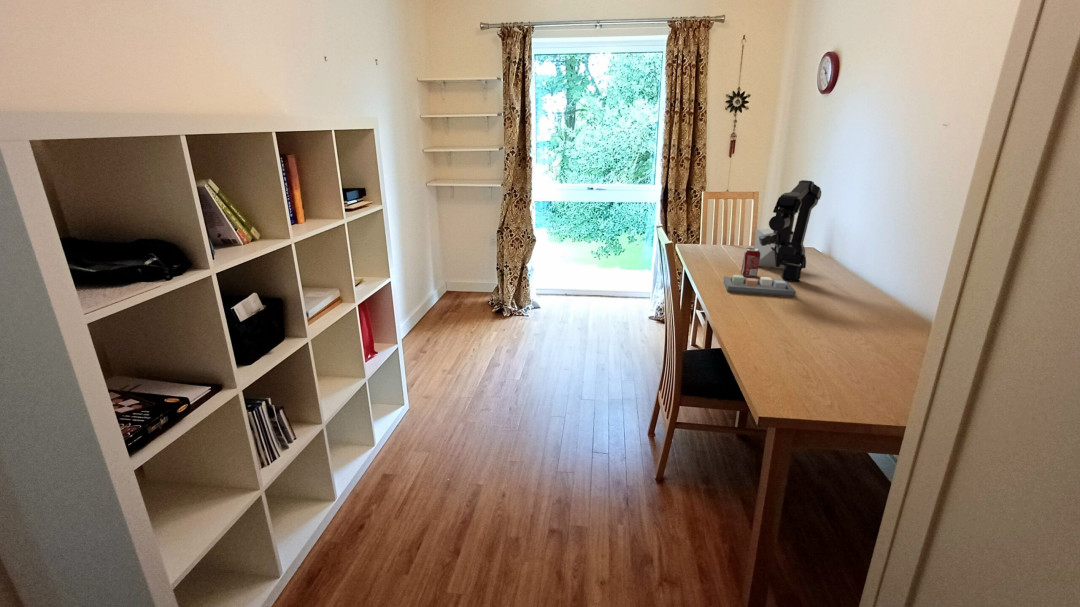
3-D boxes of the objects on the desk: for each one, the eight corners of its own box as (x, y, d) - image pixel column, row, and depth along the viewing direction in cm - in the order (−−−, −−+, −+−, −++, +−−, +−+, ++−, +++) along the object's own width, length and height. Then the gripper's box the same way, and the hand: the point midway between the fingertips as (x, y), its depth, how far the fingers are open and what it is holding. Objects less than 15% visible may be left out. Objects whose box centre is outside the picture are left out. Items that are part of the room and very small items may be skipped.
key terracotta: (755, 284, 209) (756, 278, 208) (756, 287, 205) (757, 281, 204) (745, 284, 210) (746, 277, 209) (746, 286, 206) (747, 280, 205)
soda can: (759, 277, 224) (763, 251, 220) (743, 277, 224) (747, 250, 220) (753, 273, 230) (757, 247, 226) (738, 273, 230) (742, 247, 226)
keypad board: (786, 287, 211) (787, 281, 211) (794, 297, 199) (795, 291, 198) (723, 282, 216) (724, 276, 215) (727, 292, 203) (728, 286, 202)
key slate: (783, 286, 207) (784, 280, 206) (785, 289, 203) (786, 283, 202) (773, 286, 207) (774, 280, 207) (775, 288, 204) (776, 282, 203)
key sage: (741, 281, 209) (742, 275, 209) (743, 284, 206) (744, 277, 205) (731, 280, 210) (732, 274, 209) (733, 283, 207) (734, 277, 206)
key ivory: (769, 283, 207) (770, 277, 207) (771, 286, 204) (772, 280, 203) (759, 282, 208) (760, 276, 207) (761, 285, 205) (762, 279, 204)
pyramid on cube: (755, 263, 230) (760, 223, 229) (749, 267, 253) (753, 231, 253) (795, 267, 225) (801, 226, 225) (785, 270, 248) (790, 234, 248)
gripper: (757, 222, 208) (751, 259, 213) (767, 231, 190) (760, 271, 195) (786, 224, 206) (779, 261, 211) (799, 232, 188) (791, 273, 193)
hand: (777, 266), depth 203 cm, fingers closed
